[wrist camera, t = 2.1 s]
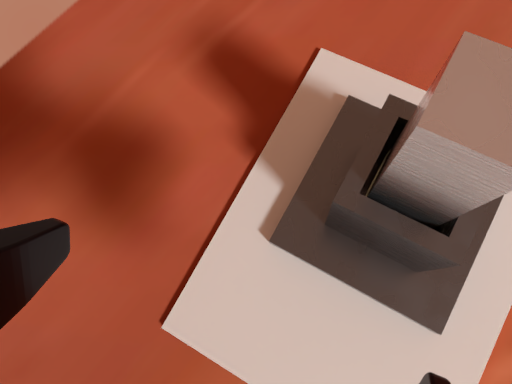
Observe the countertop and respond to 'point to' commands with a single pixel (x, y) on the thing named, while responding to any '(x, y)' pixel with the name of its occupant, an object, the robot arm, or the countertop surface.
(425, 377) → the robot arm
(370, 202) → the iron stand
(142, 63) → the countertop surface
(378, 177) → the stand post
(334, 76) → the rubber mat
